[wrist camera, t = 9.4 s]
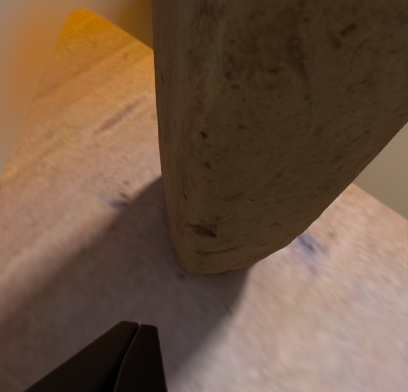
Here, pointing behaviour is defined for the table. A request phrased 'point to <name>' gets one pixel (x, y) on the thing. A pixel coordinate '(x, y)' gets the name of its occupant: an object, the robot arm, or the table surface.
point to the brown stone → (269, 116)
